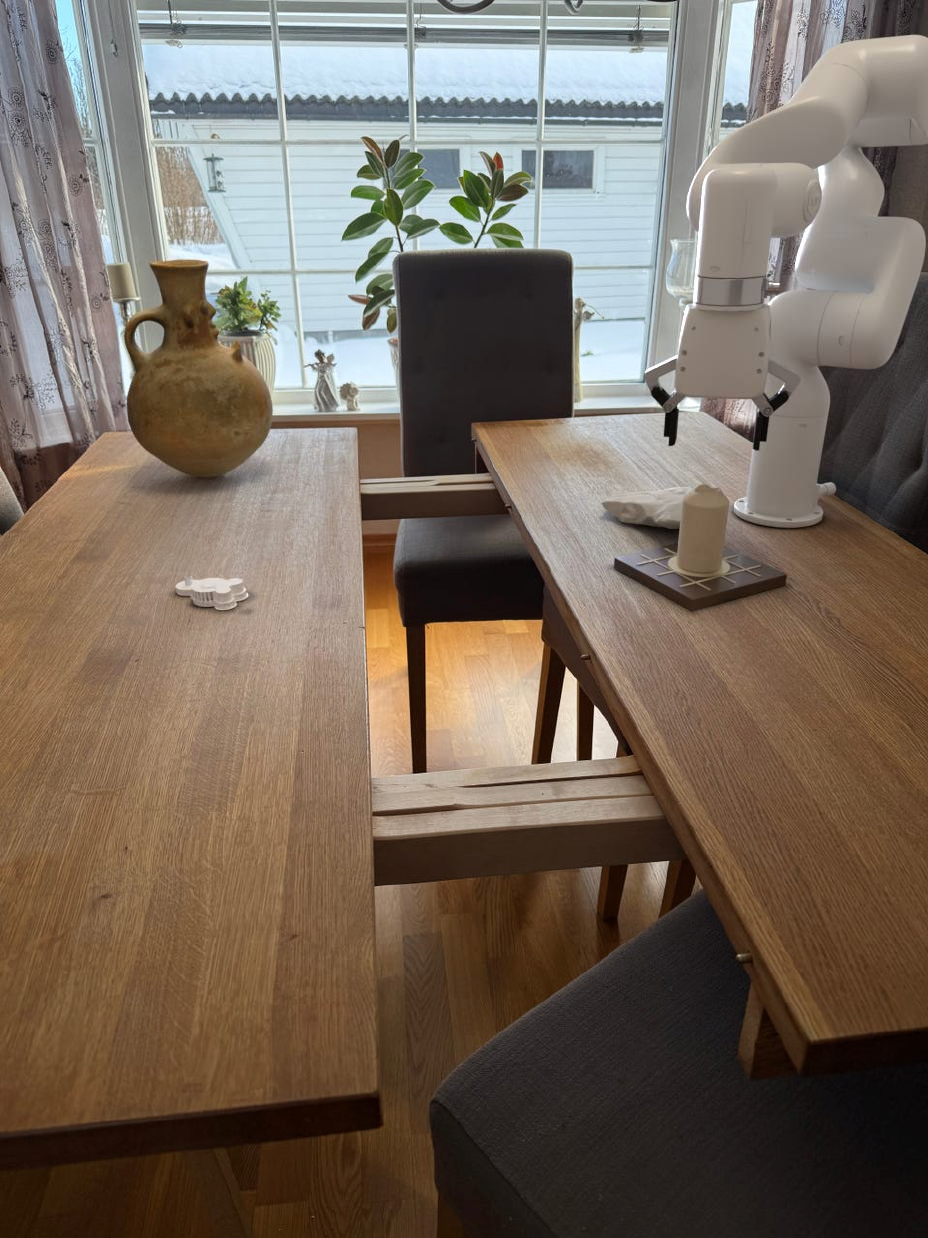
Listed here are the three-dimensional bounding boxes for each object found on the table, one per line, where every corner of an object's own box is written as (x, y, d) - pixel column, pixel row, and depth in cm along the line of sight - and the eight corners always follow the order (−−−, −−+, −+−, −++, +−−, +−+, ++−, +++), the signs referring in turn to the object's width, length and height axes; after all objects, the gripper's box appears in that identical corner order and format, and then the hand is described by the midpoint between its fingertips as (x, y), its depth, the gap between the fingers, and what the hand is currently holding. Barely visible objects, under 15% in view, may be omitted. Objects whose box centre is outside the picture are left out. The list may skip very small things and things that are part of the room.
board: (702, 546, 121) (703, 535, 120) (785, 585, 109) (787, 573, 108) (613, 568, 115) (614, 556, 114) (691, 611, 103) (692, 598, 102)
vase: (133, 501, 142) (89, 268, 127) (145, 461, 163) (109, 257, 148) (283, 489, 147) (258, 263, 132) (276, 451, 168) (254, 253, 153)
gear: (254, 582, 112) (252, 566, 111) (245, 611, 104) (243, 595, 103) (179, 586, 111) (176, 570, 110) (165, 615, 104) (162, 599, 103)
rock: (596, 546, 122) (708, 543, 119) (594, 513, 121) (708, 509, 117) (608, 507, 142) (705, 504, 138) (607, 479, 140) (705, 475, 136)
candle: (670, 557, 113) (678, 482, 109) (712, 555, 114) (721, 480, 109) (684, 574, 108) (692, 495, 104) (727, 572, 109) (737, 494, 104)
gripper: (811, 288, 98) (789, 440, 106) (652, 288, 103) (643, 433, 110) (814, 298, 92) (791, 458, 99) (645, 296, 96) (636, 450, 104)
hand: (713, 445), depth 105 cm, fingers open, 9 cm apart
